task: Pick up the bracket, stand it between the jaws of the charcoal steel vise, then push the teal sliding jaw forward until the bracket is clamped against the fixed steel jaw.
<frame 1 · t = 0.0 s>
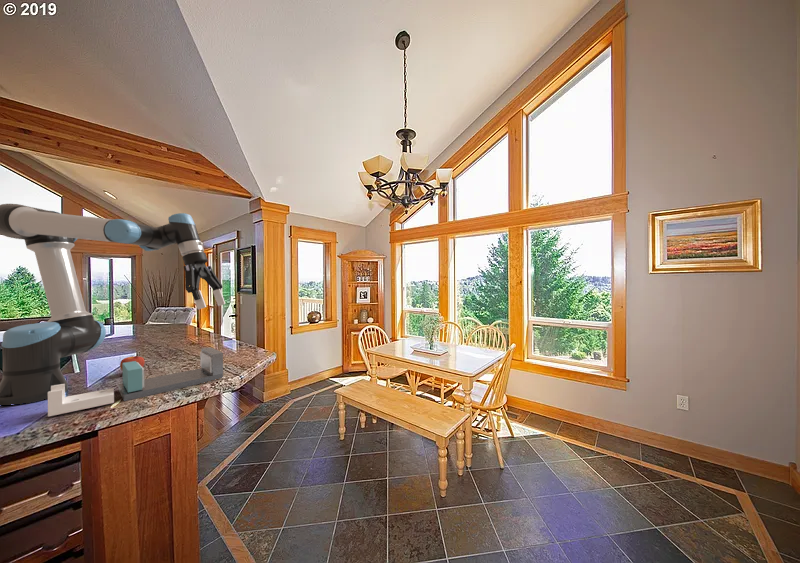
hand: (212, 306, 113), 28 cm above the worktop, tool tilted 20°, fingers open, 13 cm apart
bracket: (83, 409, 88), on the worktop
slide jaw: (133, 375, 99), point 6 cm above the worktop, slide at 0.0 cm
vise base: (173, 384, 107), on the worktop
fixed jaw: (211, 375, 117), resting on vise base
apple: (132, 374, 119), on the worktop
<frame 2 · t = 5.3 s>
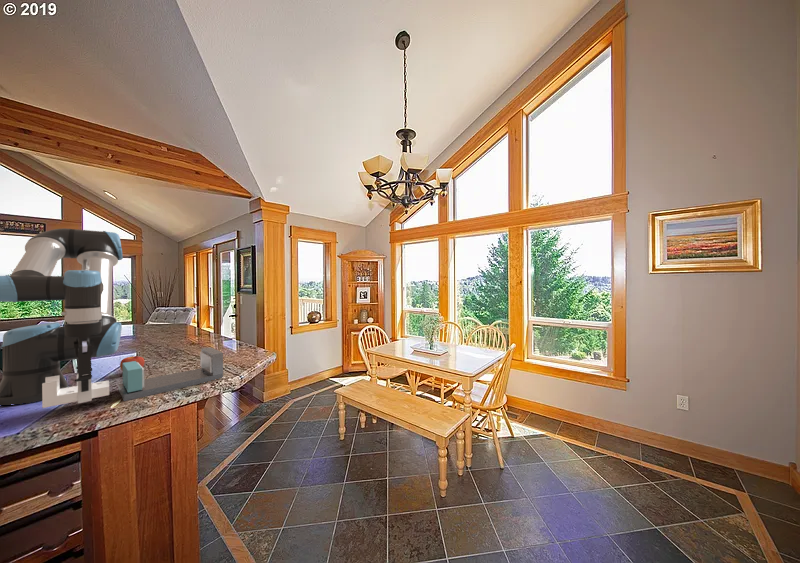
hand: (84, 397, 88), 3 cm above the worktop, tool pointing down, fingers closed on bracket, 7 cm apart
bracket: (78, 401, 87), point 2 cm above the worktop, touching gripper
everything else where it was.
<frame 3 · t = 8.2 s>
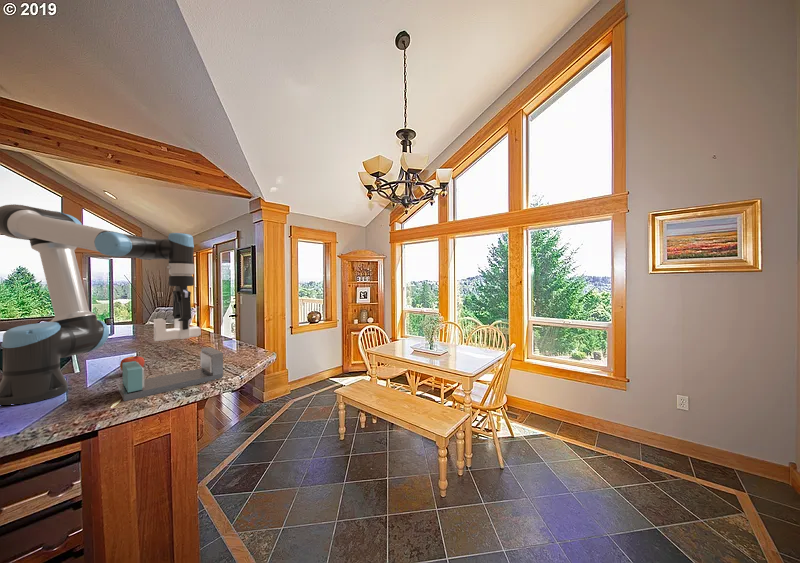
hand: (181, 336, 109), 17 cm above the worktop, tool pointing down, fingers closed on bracket, 7 cm apart
bracket: (177, 339, 108), point 16 cm above the worktop, touching gripper
everything else where it was.
when the fingers open (3 cm above the worktop, at t = 11.0 s): bracket stays where it is, resting on vise base.
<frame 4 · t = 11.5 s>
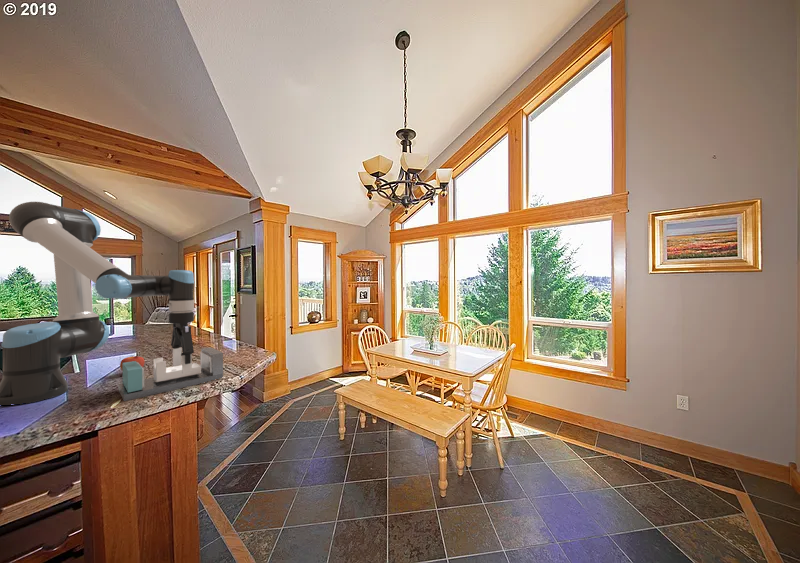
hand: (181, 368, 109), 5 cm above the worktop, tool pointing down, fingers open, 13 cm apart
bracket: (177, 378, 108), point 2 cm above the worktop, touching vise base
everything else where it was.
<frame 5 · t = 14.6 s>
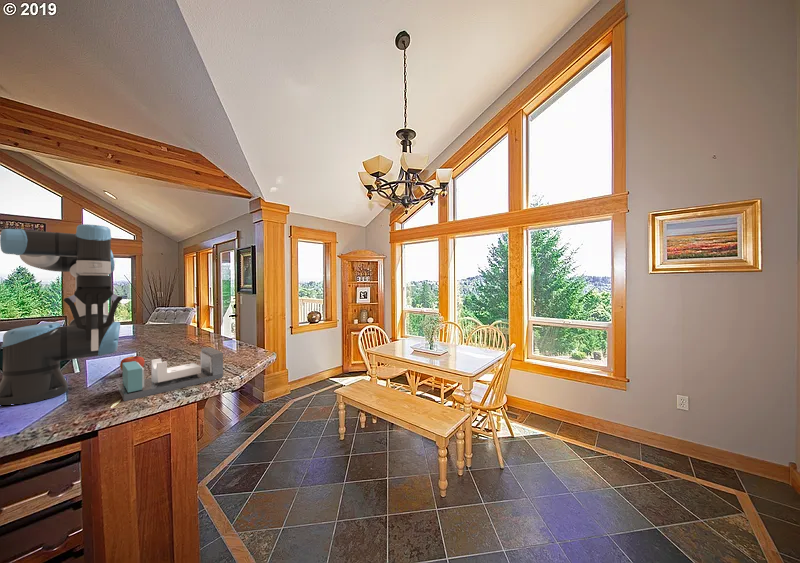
hand: (94, 349, 92), 16 cm above the worktop, tool pointing down, fingers closed
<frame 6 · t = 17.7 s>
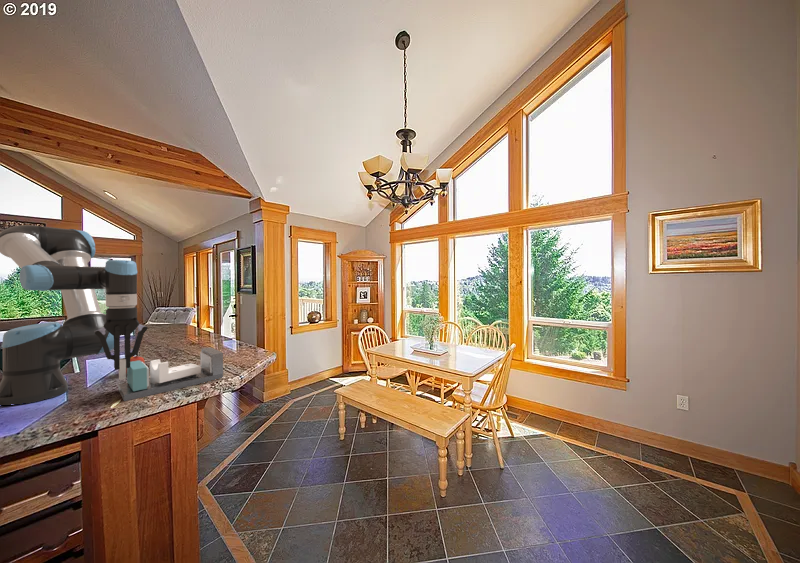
hand: (122, 378, 97), 6 cm above the worktop, tool pointing down, fingers closed
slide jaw: (137, 374, 100), point 6 cm above the worktop, slide at 1.2 cm, touching gripper
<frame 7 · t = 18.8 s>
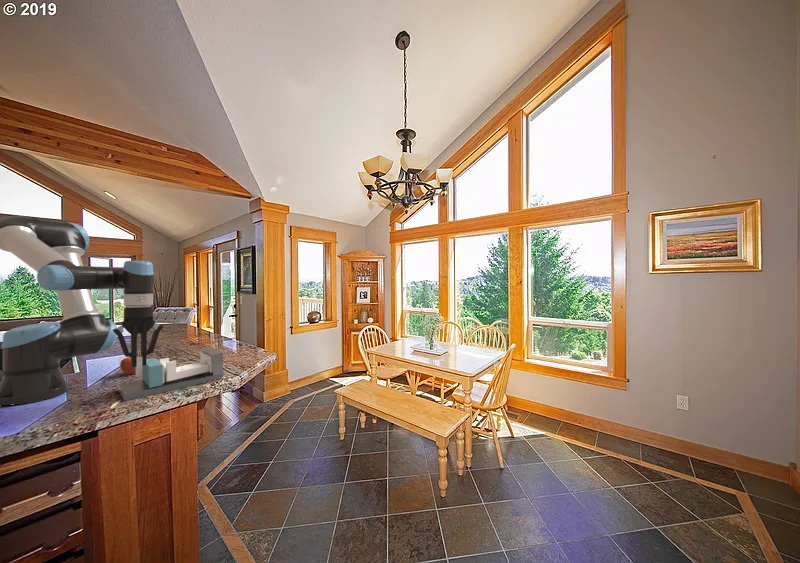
hand: (138, 375, 100), 6 cm above the worktop, tool pointing down, fingers closed
bracket: (184, 377, 109), point 2 cm above the worktop, touching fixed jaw, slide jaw, vise base
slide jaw: (153, 371, 103), point 6 cm above the worktop, slide at 5.2 cm, touching gripper, bracket
everything else where it was.
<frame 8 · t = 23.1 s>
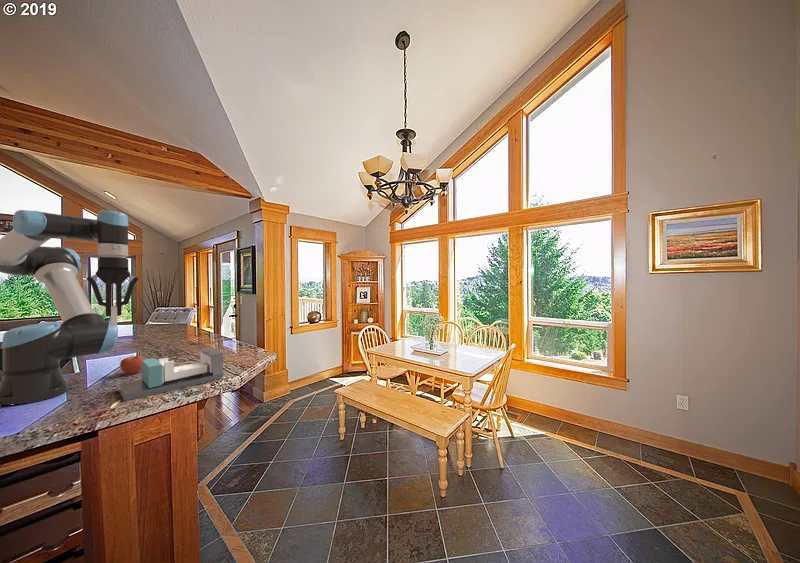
hand: (113, 325, 101), 22 cm above the worktop, tool pointing down, fingers closed
bracket: (183, 377, 109), point 2 cm above the worktop, touching vise base
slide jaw: (152, 372, 103), point 6 cm above the worktop, slide at 5.1 cm
everything else where it was.
at the end: bracket inside the target area (1.0 cm from its centre), point 1.8 cm above the worktop; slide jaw slide at 5.1 cm; bracket tilted 0° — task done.
